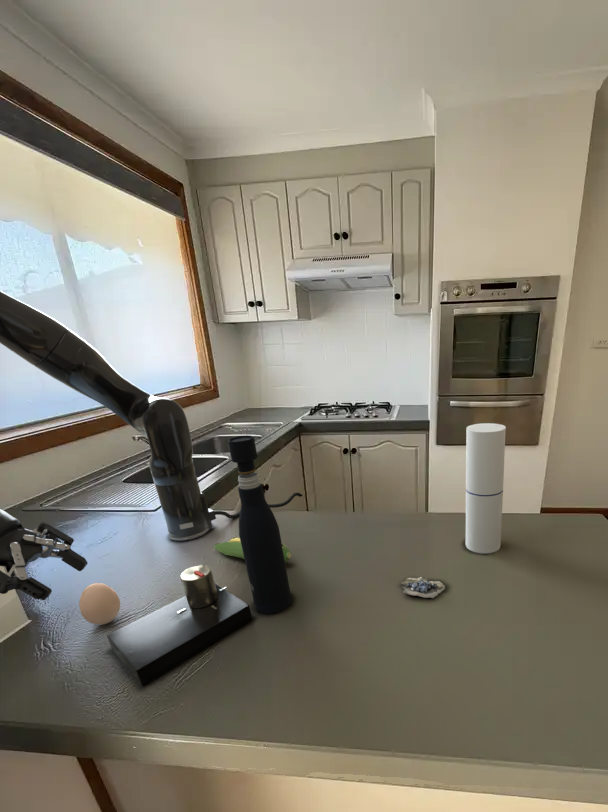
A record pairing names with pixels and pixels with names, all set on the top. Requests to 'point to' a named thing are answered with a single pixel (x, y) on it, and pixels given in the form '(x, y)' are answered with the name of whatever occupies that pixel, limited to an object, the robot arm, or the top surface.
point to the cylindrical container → (484, 486)
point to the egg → (99, 604)
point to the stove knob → (199, 586)
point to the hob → (176, 634)
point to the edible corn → (236, 550)
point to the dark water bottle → (259, 533)
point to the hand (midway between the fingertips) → (67, 580)
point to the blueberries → (422, 587)
